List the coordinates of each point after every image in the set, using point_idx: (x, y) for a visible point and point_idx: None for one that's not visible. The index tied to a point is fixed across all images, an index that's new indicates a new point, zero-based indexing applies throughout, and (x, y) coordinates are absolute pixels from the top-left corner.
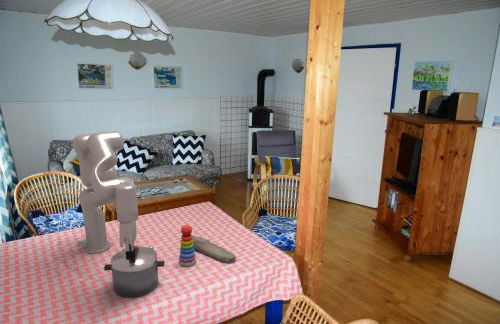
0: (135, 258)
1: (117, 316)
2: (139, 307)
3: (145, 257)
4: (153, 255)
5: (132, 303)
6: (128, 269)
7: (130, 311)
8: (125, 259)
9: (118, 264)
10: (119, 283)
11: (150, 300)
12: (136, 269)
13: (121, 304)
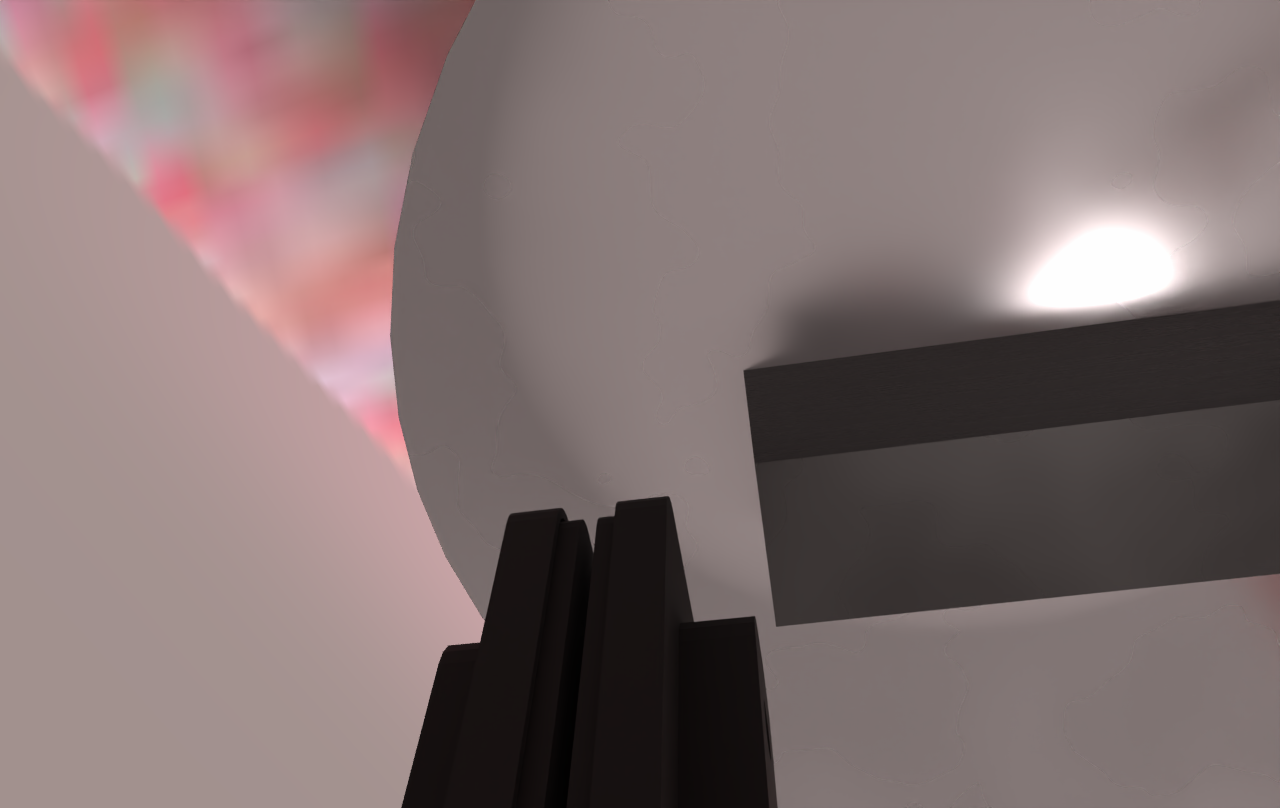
0: (802, 610)
1: (46, 71)
2: (320, 325)
3: (1039, 670)
4: (1114, 795)
5: (392, 200)
6: (407, 437)
7: (207, 228)
8: (1012, 173)
9: (667, 38)
10: None
11: None
12: (477, 586)
13: (337, 27)
